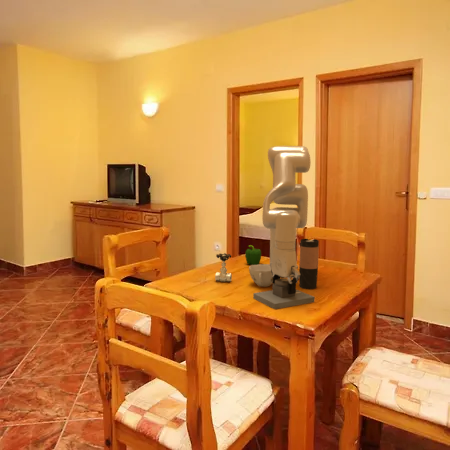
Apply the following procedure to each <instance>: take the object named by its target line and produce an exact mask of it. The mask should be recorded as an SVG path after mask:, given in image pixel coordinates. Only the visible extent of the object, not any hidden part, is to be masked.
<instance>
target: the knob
mask: <svg viewBox="0 0 450 450" xmlns="http://www.w3.org/2000/svg"><path fill="white" fill-rule="evenodd" d="M288 283H289V281H288V278H284V277H280V278H279V279H276V280H275V283H274V284H273V283H272V285H273V287H272V290H273V292H272V294H274V295H276V296H278V297H280V298H286V297H291V296H295V294H288Z"/></svg>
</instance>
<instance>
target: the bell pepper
mask: <svg viewBox="0 0 450 450" xmlns="http://www.w3.org/2000/svg"><path fill="white" fill-rule="evenodd" d="M248 247H249V248H247V249H246V250H245V254H244V255H245V260H246V263H247V265H249V266H251V265H259V264H260V263H261V259H262V251H261V249H259V248H255V247H254V246H253V245H251V244H250V245H248Z"/></svg>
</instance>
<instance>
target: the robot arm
mask: <svg viewBox="0 0 450 450" xmlns="http://www.w3.org/2000/svg"><path fill="white" fill-rule="evenodd" d="M267 159H268V163H269V166H270V168H271V172H272V188H270V190H269V191H268V192H267V193H266V195H265V197H264V199H263V203H262V216H261V217H262V224H263V227H265V228H266V229H269V230H270V231H269V233H270V234H269V239H270V240H269V265H270V267H271V272H272V277H273V283H272V284H271V285H272V288H273V284H274V283H275V280H276V279H279V278H286V279H288V281H289V283H288V294H295V293H296V289H297V284H298V282H299V277H300V273H299V270H298V269H299V265H298V264H297V263H298V262H297V252H296V246H297V245H296V241H297V239H296V238H297V229H304V228H306V226H307V225H308V207H309V206H308V205H309V192H308V190H309V189H308V188H307V186H306V185H305V184H302V183H296V174H297V173H302V174H303V173H308V172H309V171H310V169H311V156H310V151H309V149H308V148H307V146H305V145H304V146H303V145H275V146H271V147H269V149H268V151H267ZM272 202H273V203H275V204H277V205H282V206H283V205H284V206H285V205H288V206H289V205H291V206H292V205H294V206H297V207H288V206H287V207H284V206H283V207H282V206H281V207H280V206H278V207H277V206H276V207H273V208H271V209H270V206H271V203H272Z"/></svg>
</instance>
